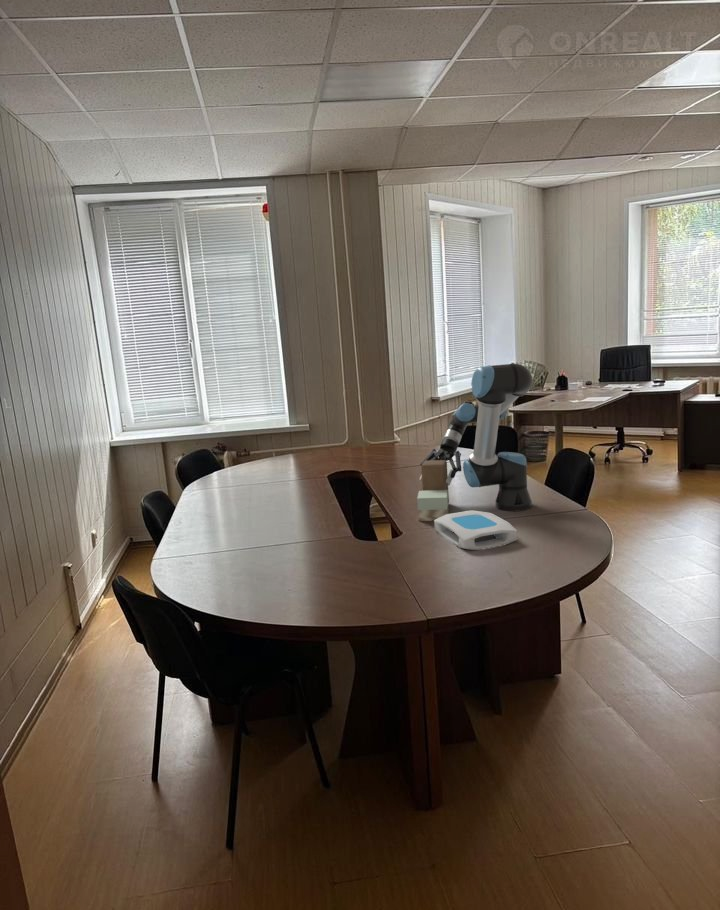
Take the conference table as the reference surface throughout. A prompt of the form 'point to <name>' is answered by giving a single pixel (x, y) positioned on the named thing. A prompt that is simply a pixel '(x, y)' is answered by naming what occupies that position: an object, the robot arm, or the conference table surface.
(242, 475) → the conference table surface
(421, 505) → the tower upper slab
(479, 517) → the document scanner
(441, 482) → the block
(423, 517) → the tower lower slab
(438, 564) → the conference table surface
